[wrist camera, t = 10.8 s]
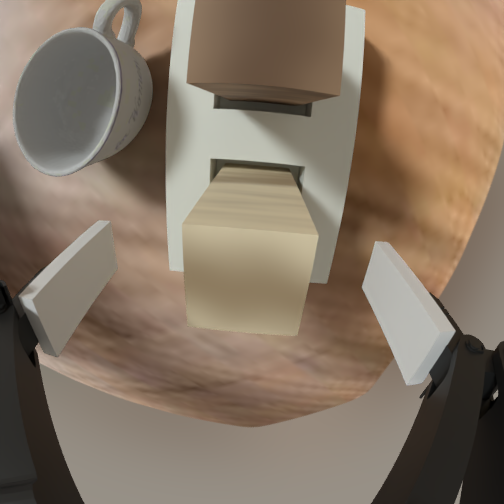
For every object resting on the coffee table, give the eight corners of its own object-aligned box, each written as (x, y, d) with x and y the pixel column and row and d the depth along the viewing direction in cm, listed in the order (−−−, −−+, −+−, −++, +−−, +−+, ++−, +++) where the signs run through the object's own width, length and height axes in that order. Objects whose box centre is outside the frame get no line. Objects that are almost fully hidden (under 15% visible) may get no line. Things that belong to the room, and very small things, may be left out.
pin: (225, 163, 22) (182, 224, 10) (289, 168, 22) (318, 235, 10) (222, 221, 24) (187, 326, 13) (282, 226, 24) (297, 335, 13)
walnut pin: (230, 100, 19) (186, 83, 8) (235, 41, 17) (201, -36, 6) (295, 106, 19) (340, 96, 8) (301, 47, 17) (346, -24, 6)
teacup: (116, 179, 24) (67, 208, 16) (49, 116, 20) (-7, 127, 13) (217, 57, 19) (195, 31, 12) (132, -1, 15) (87, -30, 8)
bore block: (181, 248, 27) (169, 270, 23) (191, 10, 16) (178, -6, 13) (318, 260, 27) (326, 283, 23) (349, 23, 16) (365, 10, 13)
